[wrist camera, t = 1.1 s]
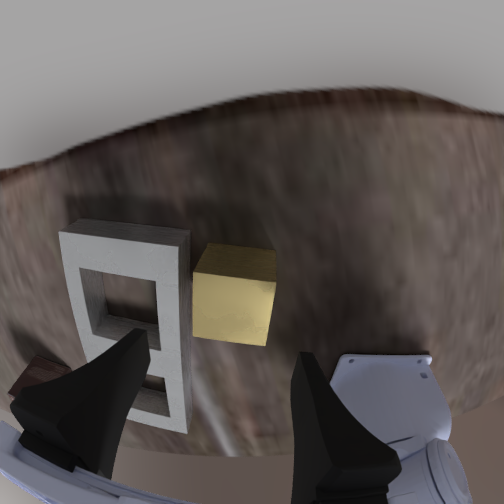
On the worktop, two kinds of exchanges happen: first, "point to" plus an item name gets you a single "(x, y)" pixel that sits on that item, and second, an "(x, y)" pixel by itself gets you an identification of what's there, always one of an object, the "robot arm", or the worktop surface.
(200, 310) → the pale yellow wooden cube
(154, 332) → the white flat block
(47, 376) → the box
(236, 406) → the worktop surface
